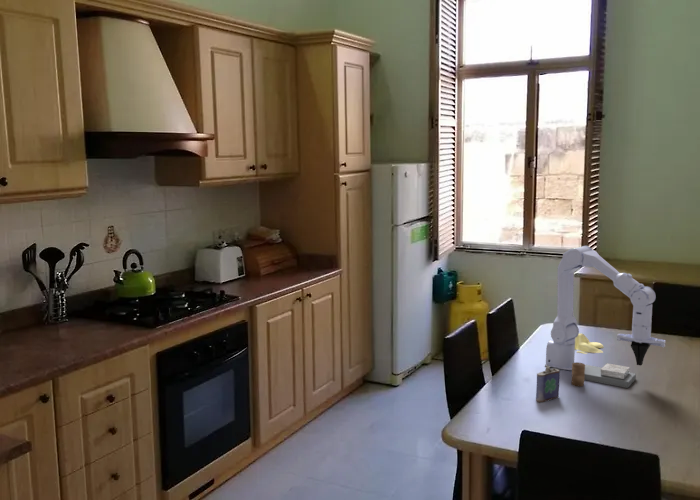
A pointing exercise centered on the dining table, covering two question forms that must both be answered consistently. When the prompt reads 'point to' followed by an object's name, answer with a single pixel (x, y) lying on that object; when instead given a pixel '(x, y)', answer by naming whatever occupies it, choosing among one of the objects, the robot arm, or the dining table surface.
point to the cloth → (586, 345)
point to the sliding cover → (615, 371)
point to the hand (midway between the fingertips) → (639, 364)
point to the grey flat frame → (607, 377)
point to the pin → (578, 374)
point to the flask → (547, 384)
